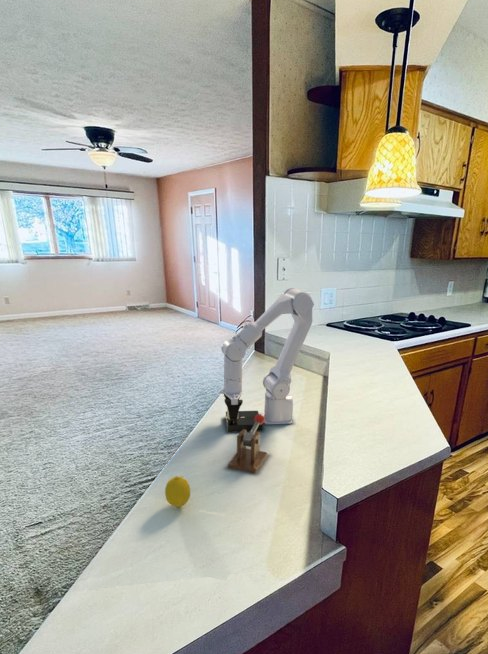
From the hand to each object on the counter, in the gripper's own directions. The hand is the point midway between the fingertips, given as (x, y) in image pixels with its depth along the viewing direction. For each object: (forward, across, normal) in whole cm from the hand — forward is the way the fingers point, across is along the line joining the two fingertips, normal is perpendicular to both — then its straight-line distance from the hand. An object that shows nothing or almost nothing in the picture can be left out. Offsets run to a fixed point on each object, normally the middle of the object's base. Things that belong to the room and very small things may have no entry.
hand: (232, 416), depth 134 cm
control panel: (+3, 0, +4) cm, 5 cm away
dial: (0, 0, 0) cm, 0 cm away
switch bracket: (+3, +24, +2) cm, 24 cm away
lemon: (+3, +42, -16) cm, 45 cm away
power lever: (-4, +20, +5) cm, 21 cm away
